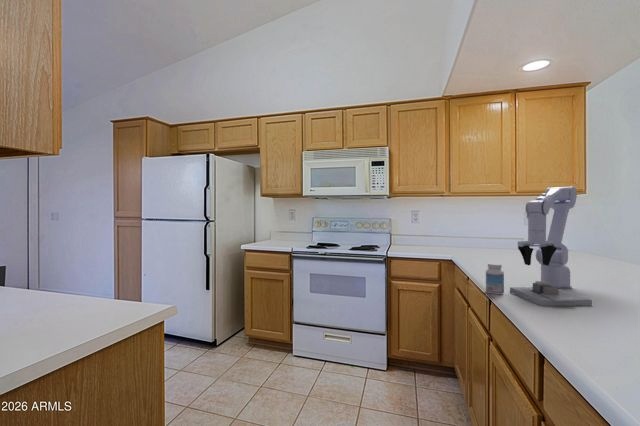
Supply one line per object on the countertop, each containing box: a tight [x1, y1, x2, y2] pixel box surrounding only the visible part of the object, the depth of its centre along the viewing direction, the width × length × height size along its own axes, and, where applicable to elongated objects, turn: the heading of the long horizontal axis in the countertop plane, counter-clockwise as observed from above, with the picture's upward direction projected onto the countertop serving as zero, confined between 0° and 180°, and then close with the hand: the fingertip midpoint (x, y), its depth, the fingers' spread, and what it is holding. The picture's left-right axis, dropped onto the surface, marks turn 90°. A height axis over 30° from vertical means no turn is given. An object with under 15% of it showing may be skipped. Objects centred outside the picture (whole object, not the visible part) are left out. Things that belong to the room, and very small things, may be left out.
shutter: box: [541, 286, 575, 301], centre depth 100 cm, size 6×6×3 cm
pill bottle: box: [485, 262, 505, 295], centre depth 114 cm, size 6×6×11 cm
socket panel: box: [509, 286, 593, 307], centre depth 106 cm, size 17×16×2 cm
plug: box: [532, 280, 550, 295], centre depth 107 cm, size 4×4×6 cm
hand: (536, 264), depth 115 cm, fingers open, 7 cm apart
